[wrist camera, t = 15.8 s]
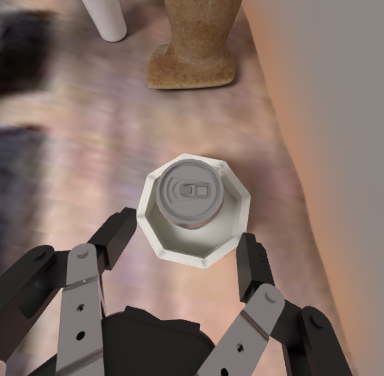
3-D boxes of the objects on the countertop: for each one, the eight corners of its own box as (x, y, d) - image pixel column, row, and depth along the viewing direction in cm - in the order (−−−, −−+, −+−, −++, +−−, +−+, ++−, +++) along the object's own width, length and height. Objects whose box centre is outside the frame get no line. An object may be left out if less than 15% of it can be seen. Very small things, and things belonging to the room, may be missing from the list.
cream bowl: (179, 280, 23) (176, 290, 19) (131, 197, 26) (120, 190, 22) (259, 224, 24) (271, 222, 21) (206, 152, 27) (207, 138, 24)
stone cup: (230, 43, 33) (257, -104, 19) (236, 94, 30) (275, -34, 16) (151, 46, 33) (119, -98, 19) (150, 97, 30) (109, -27, 16)
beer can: (211, 192, 25) (226, 156, 13) (211, 231, 23) (227, 229, 12) (174, 191, 25) (156, 154, 13) (171, 229, 23) (149, 226, 12)
